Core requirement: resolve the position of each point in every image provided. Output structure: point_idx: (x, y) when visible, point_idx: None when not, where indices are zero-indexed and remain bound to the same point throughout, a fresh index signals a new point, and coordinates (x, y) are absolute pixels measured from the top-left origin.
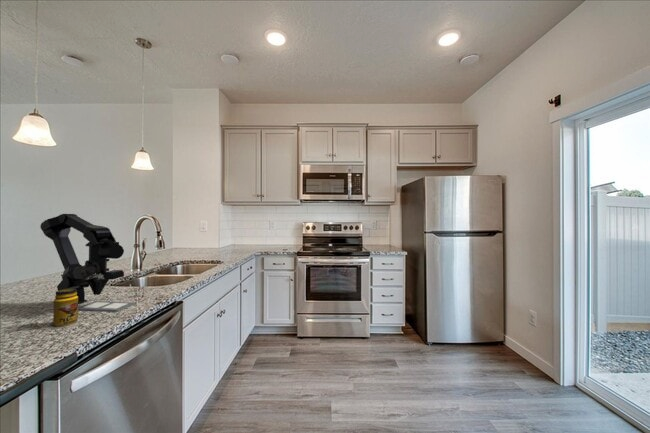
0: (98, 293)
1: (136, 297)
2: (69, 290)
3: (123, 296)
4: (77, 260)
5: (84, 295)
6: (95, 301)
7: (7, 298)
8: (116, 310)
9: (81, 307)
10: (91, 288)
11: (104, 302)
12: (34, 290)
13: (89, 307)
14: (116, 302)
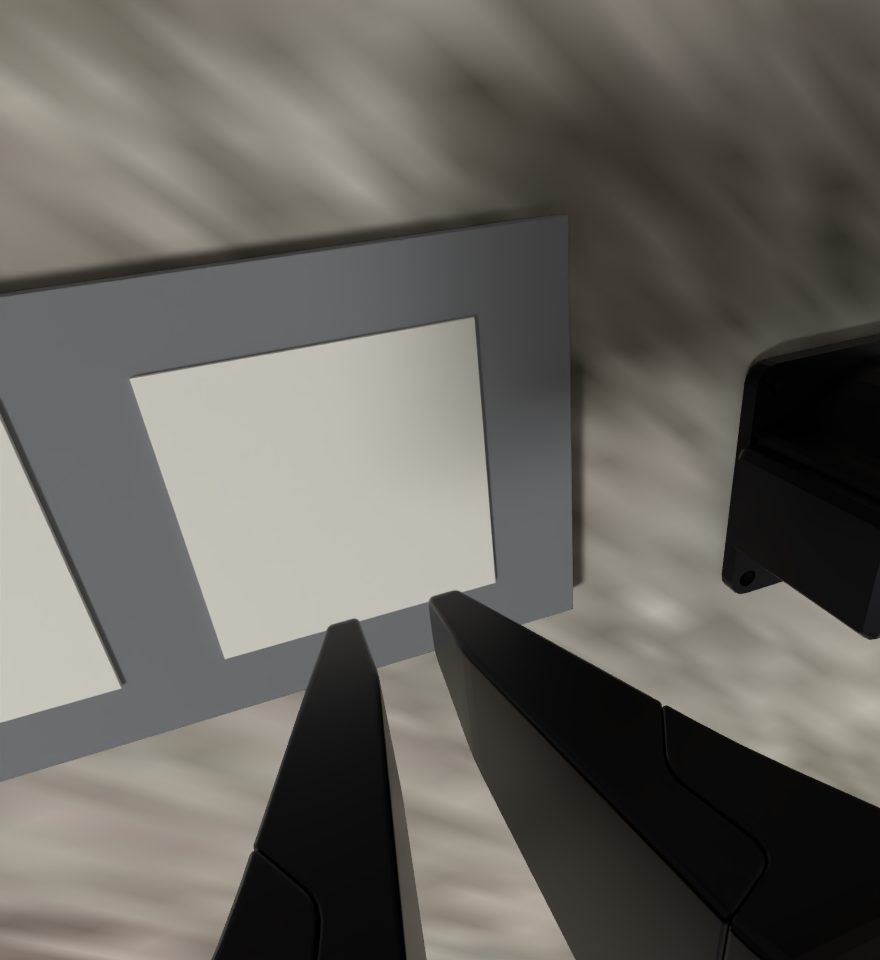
0: (324, 661)
1: (186, 957)
2: None
3: (430, 879)
4: None
5: (805, 592)
6: (562, 600)
7: None
8: None
9: (491, 302)
10: (604, 685)
11: (363, 631)
12: None
13: (319, 342)
14: (134, 718)
